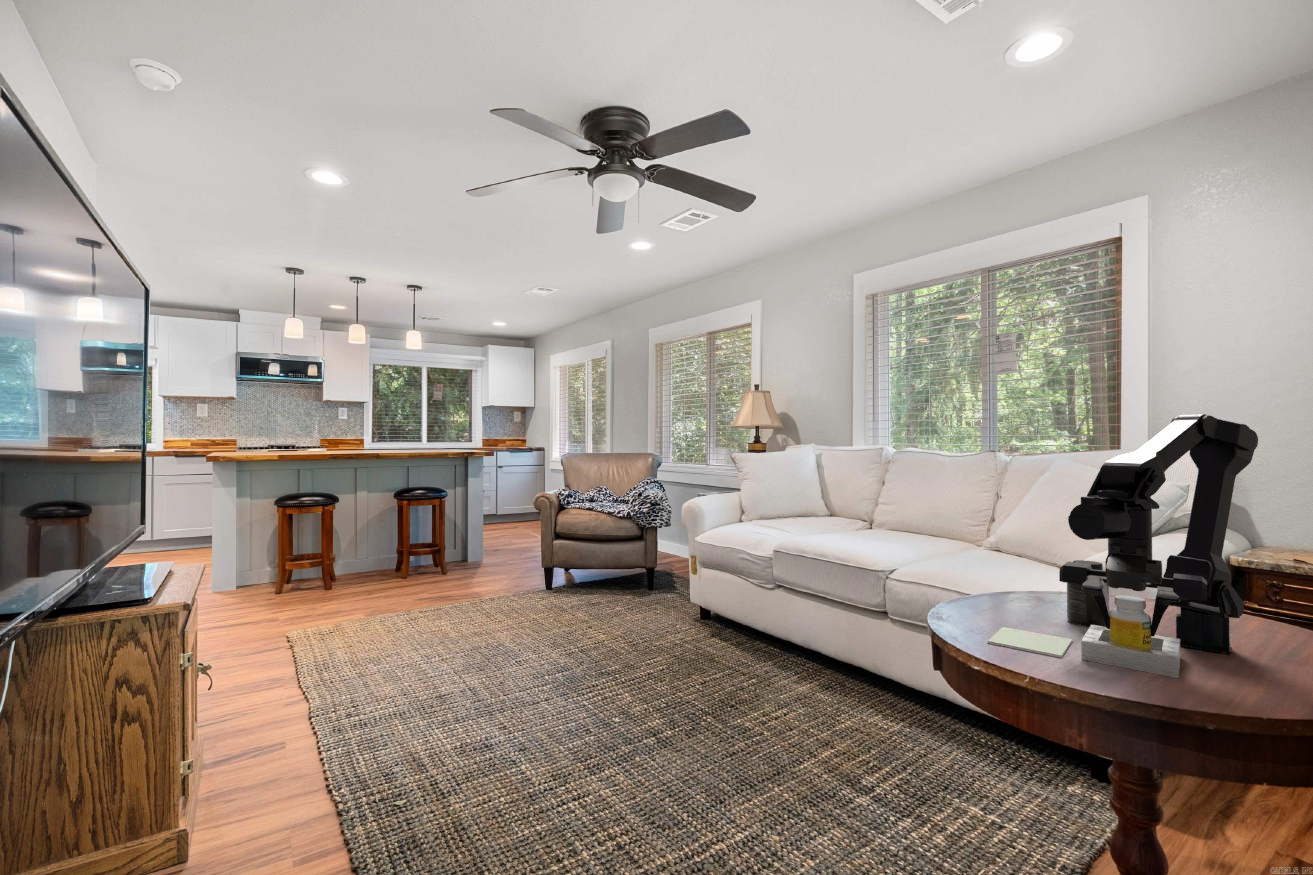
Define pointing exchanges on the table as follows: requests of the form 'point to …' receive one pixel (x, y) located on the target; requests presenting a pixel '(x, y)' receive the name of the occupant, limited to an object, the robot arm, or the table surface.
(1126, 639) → the supplement bottle
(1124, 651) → the grey square frame
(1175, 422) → the robot arm
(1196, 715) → the table surface
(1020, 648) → the sage pad
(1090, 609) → the supplement bottle
